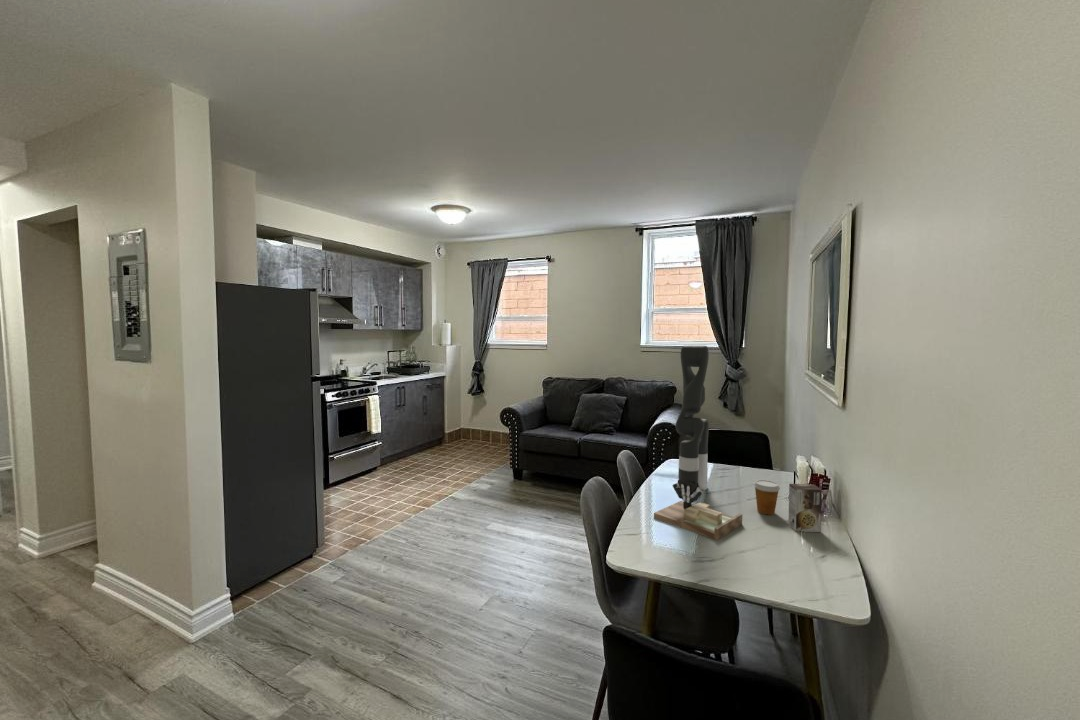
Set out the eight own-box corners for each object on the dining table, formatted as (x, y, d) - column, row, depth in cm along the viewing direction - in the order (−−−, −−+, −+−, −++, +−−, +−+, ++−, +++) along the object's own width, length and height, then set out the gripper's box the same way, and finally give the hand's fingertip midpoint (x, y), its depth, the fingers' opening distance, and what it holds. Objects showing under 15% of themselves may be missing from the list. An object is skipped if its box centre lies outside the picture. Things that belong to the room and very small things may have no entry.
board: (680, 505, 190) (680, 496, 190) (742, 524, 171) (742, 514, 170) (653, 517, 177) (653, 507, 176) (717, 540, 157) (717, 528, 157)
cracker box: (812, 525, 170) (813, 483, 169) (821, 532, 164) (822, 489, 163) (787, 524, 171) (788, 482, 170) (795, 531, 165) (796, 488, 164)
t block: (700, 510, 179) (700, 502, 179) (726, 519, 171) (727, 510, 171) (684, 518, 171) (684, 509, 171) (711, 527, 163) (711, 518, 163)
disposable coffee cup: (767, 517, 177) (768, 488, 176) (747, 509, 186) (748, 481, 185) (784, 514, 181) (785, 485, 180) (764, 506, 189) (765, 478, 189)
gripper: (709, 469, 173) (707, 513, 174) (678, 462, 183) (677, 503, 184) (699, 473, 168) (697, 518, 169) (668, 465, 178) (667, 508, 179)
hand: (687, 510), depth 176 cm, fingers closed
